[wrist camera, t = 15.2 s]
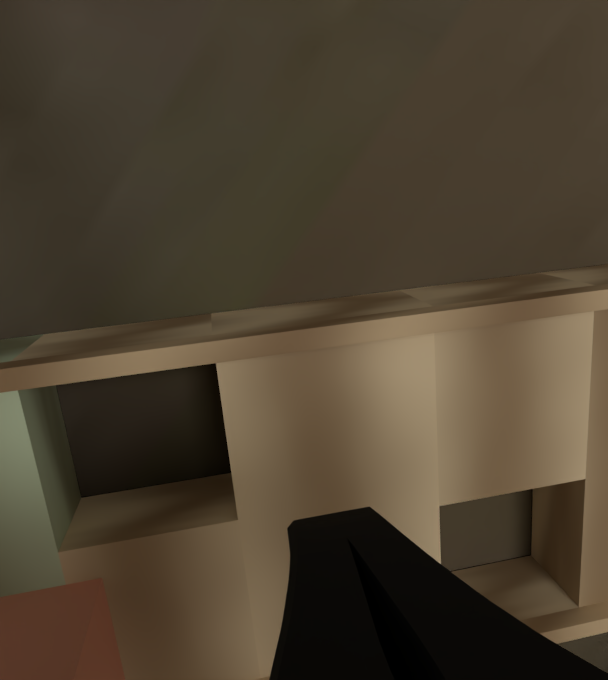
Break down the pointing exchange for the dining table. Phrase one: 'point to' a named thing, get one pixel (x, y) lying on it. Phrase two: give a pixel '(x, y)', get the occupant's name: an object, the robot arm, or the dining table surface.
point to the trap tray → (323, 458)
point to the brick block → (59, 634)
